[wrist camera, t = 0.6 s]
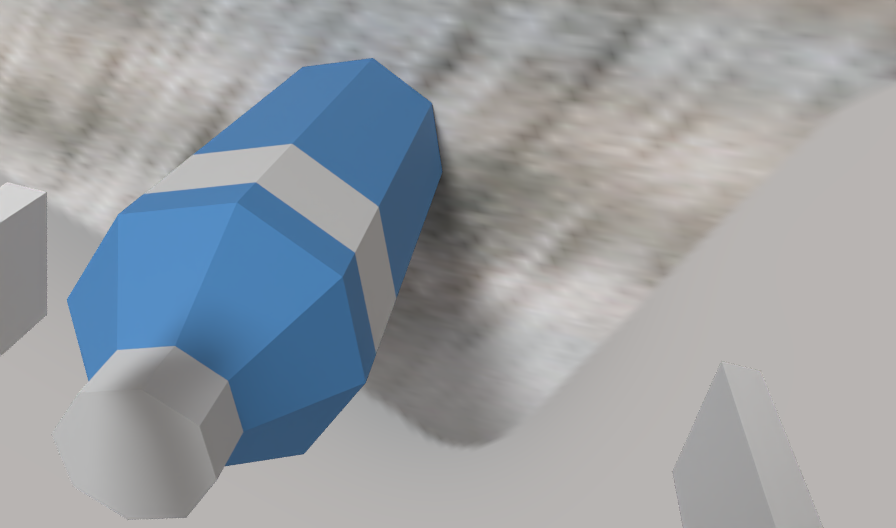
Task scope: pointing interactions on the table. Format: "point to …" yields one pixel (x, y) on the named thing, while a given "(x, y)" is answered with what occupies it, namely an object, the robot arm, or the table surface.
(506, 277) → the table surface
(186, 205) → the water bottle
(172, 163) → the table surface
